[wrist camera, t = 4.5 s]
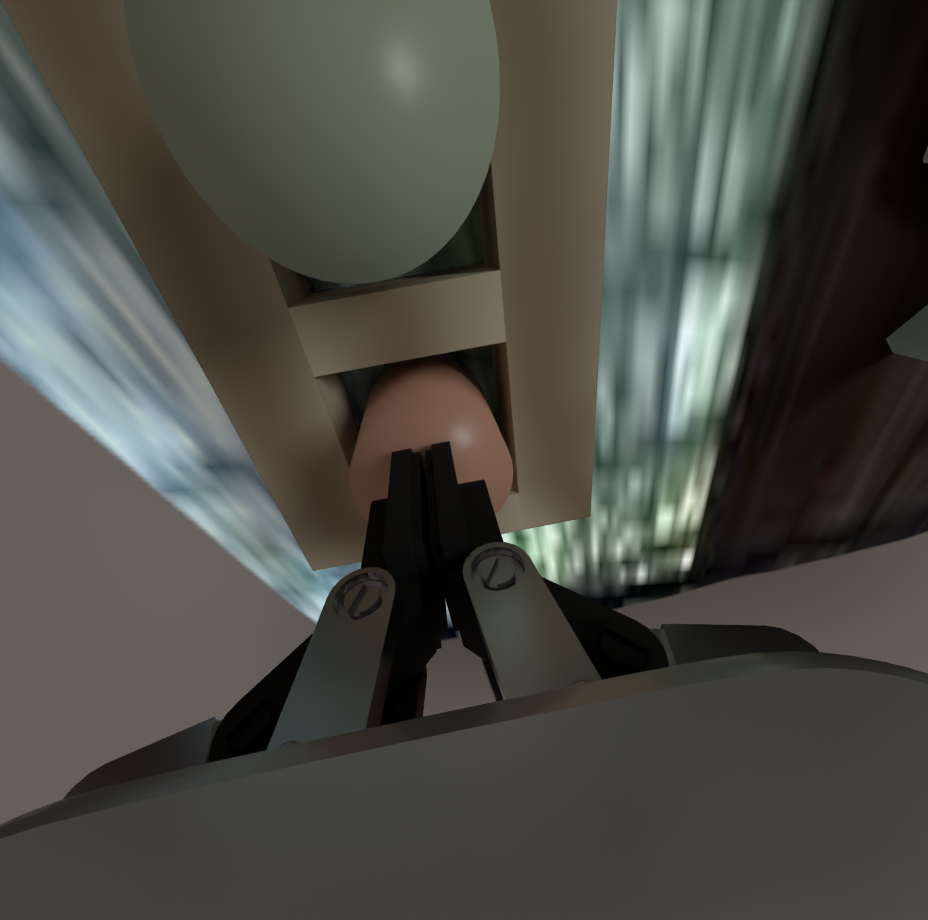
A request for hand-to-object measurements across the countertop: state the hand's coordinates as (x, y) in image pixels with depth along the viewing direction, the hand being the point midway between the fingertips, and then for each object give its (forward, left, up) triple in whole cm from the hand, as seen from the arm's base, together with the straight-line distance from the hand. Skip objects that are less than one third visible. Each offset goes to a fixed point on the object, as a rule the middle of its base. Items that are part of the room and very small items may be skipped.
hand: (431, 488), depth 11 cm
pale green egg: (0, -8, -3) cm, 9 cm away
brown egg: (0, 0, -5) cm, 5 cm away
